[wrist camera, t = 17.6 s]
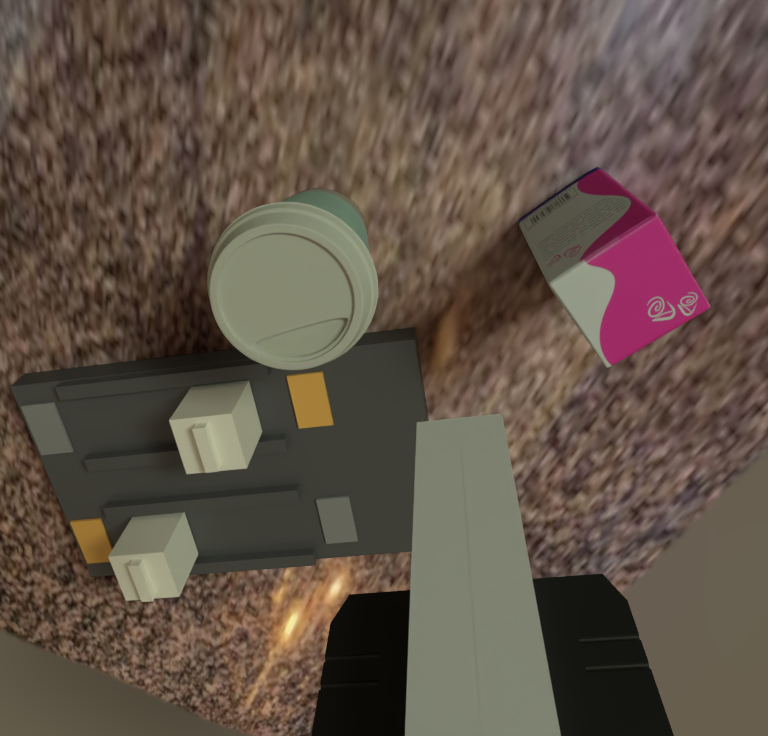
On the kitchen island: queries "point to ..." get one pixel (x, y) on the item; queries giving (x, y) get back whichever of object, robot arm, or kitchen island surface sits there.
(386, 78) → the kitchen island surface
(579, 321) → the supplement box
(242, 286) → the coffee cup
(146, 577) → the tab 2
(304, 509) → the switch bank
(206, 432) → the white slider knob
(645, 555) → the kitchen island surface
